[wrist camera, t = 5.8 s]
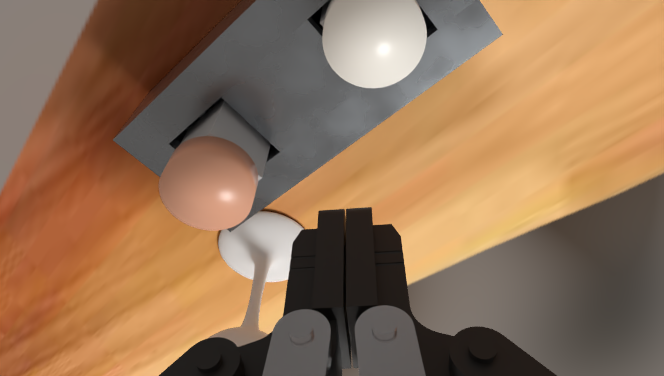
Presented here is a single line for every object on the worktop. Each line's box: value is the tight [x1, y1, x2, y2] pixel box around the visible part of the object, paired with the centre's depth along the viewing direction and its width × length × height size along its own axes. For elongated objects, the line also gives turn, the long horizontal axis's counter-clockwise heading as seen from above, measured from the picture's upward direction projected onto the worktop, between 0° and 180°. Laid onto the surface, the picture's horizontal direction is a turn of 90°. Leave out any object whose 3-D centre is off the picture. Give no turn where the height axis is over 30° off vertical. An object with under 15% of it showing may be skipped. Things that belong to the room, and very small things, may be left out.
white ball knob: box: [320, 0, 427, 88], centre depth 28 cm, size 5×5×7 cm
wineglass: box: [209, 211, 304, 347], centre depth 38 cm, size 9×9×21 cm
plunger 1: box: [159, 99, 271, 231], centre depth 31 cm, size 5×5×7 cm
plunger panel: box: [113, 0, 503, 232], centre depth 32 cm, size 10×22×7 cm, turn 131°
